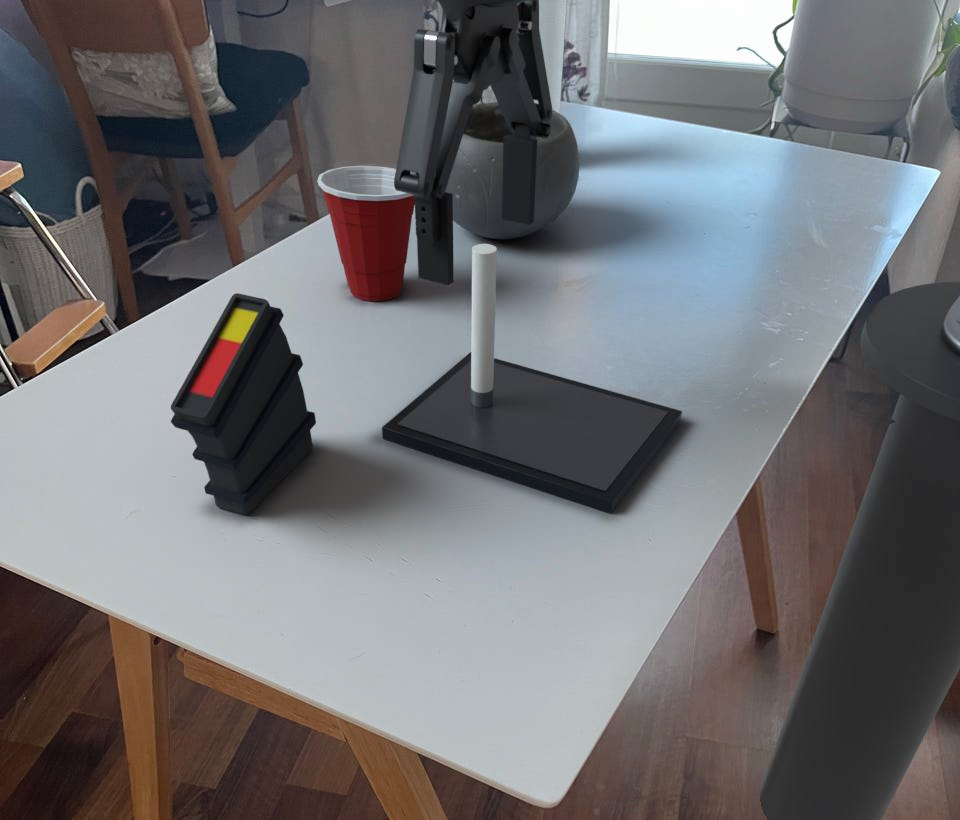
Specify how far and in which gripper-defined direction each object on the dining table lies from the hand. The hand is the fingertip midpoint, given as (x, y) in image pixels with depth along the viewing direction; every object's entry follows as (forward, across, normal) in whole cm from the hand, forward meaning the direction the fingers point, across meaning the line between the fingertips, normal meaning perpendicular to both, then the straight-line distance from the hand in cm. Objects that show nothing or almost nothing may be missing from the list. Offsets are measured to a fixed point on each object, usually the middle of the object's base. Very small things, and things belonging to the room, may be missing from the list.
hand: (479, 249), depth 78 cm
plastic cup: (+15, -17, -22) cm, 32 cm away
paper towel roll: (+15, -63, -26) cm, 70 cm away
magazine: (+15, +19, -10) cm, 26 cm away
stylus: (+14, 0, 0) cm, 14 cm away
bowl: (+15, -39, -18) cm, 46 cm away
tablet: (+15, 0, +6) cm, 16 cm away
